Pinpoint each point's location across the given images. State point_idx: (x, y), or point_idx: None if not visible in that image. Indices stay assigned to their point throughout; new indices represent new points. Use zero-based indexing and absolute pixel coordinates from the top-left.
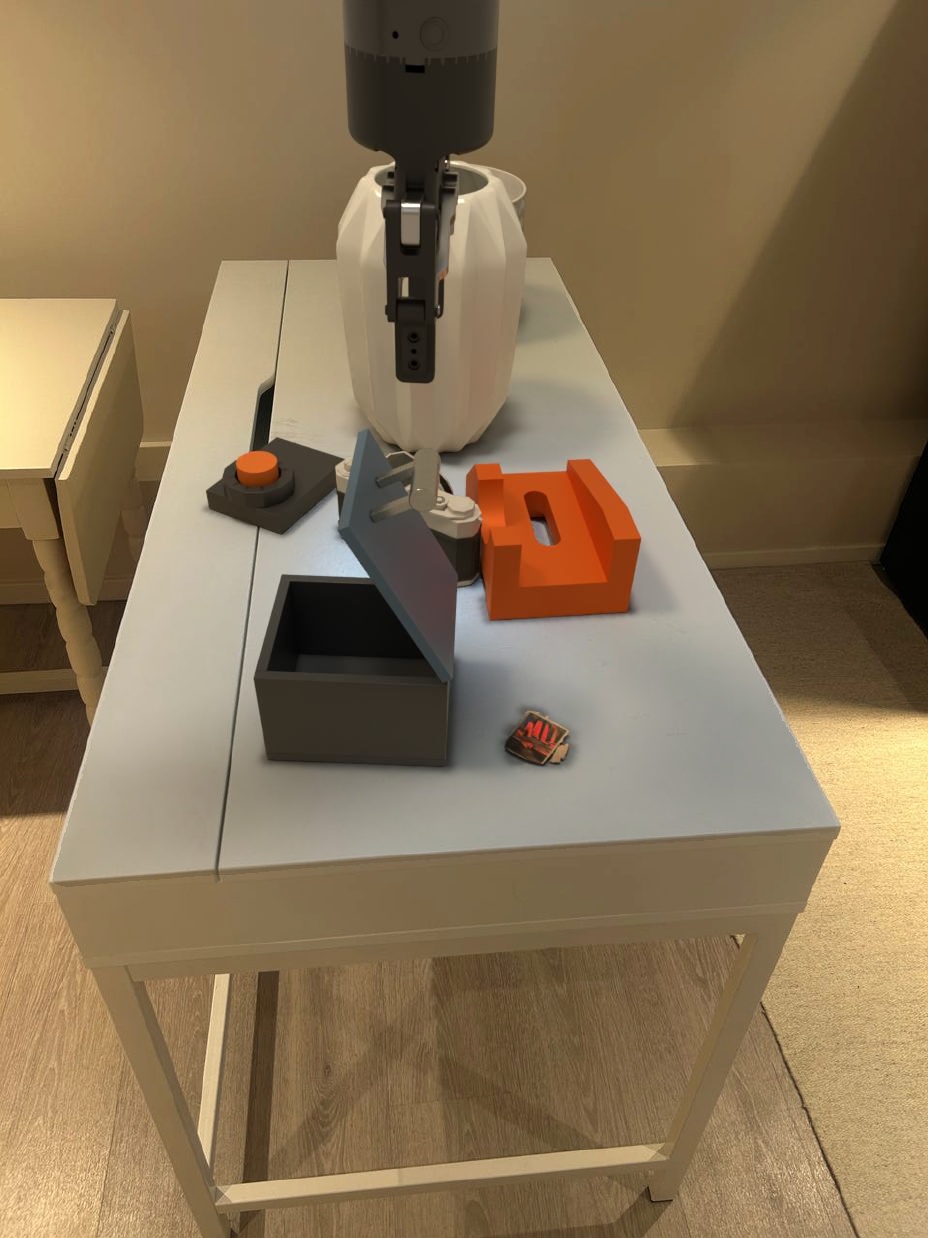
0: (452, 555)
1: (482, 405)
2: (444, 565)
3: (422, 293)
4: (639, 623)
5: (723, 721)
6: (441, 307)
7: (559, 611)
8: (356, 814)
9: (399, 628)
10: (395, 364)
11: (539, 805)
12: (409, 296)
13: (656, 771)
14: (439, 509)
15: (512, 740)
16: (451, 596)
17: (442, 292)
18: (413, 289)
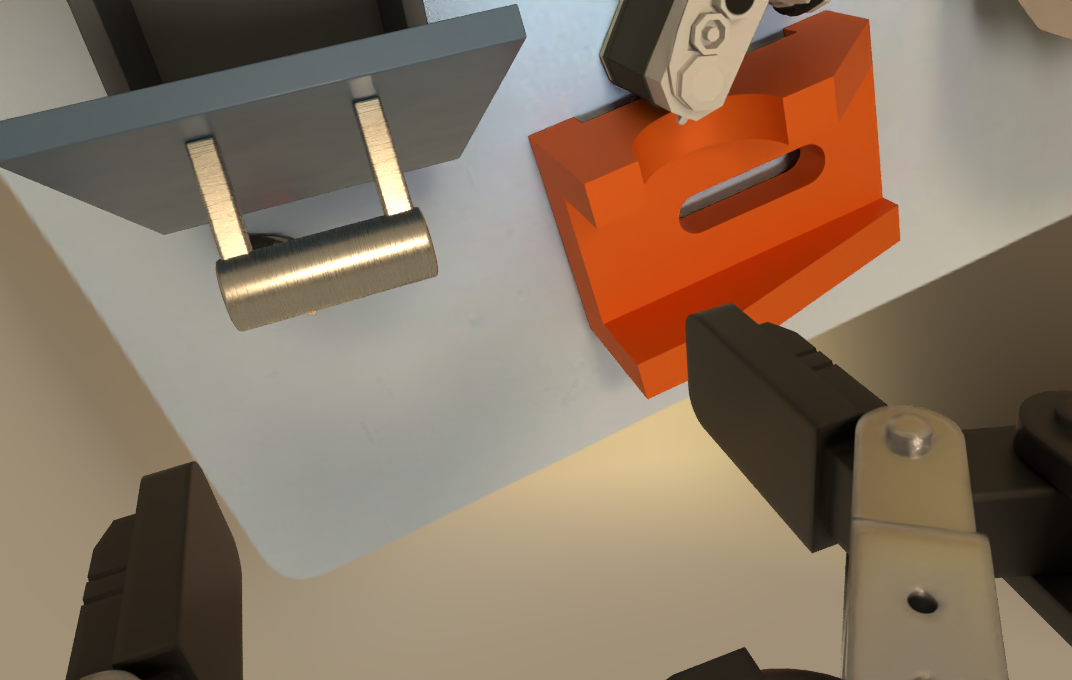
0: (629, 58)
1: (1058, 17)
2: (429, 155)
3: (736, 398)
4: (570, 347)
5: (409, 475)
6: (710, 431)
7: (564, 242)
8: (3, 41)
9: (391, 23)
10: (137, 508)
11: (163, 305)
12: (724, 348)
13: (291, 424)
14: (690, 39)
15: (265, 244)
16: (372, 177)
17: (741, 465)
18: (741, 377)
